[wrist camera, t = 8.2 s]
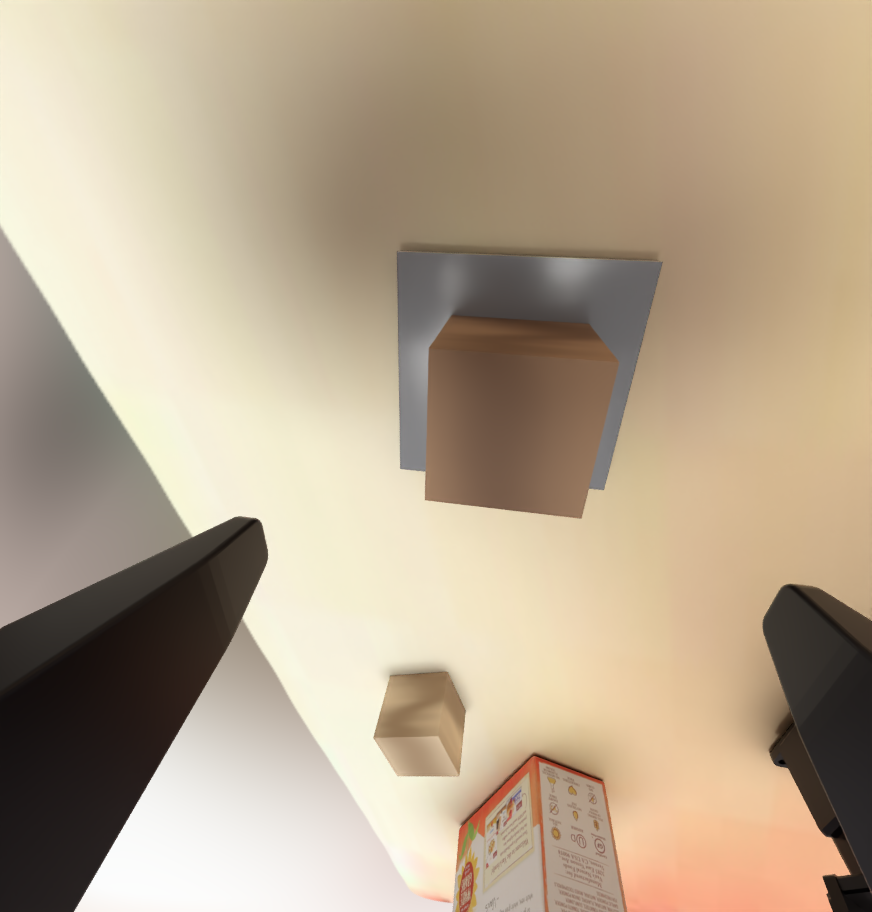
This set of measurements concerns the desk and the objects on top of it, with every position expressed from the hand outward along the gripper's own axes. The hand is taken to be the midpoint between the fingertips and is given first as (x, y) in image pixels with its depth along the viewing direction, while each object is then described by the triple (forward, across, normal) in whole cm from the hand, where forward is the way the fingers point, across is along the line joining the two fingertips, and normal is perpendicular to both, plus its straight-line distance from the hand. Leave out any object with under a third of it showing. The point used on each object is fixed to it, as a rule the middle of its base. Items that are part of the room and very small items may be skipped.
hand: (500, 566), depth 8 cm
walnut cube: (+11, 0, 0) cm, 11 cm away
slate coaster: (+11, 0, 0) cm, 11 cm away
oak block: (+11, +3, +22) cm, 25 cm away
